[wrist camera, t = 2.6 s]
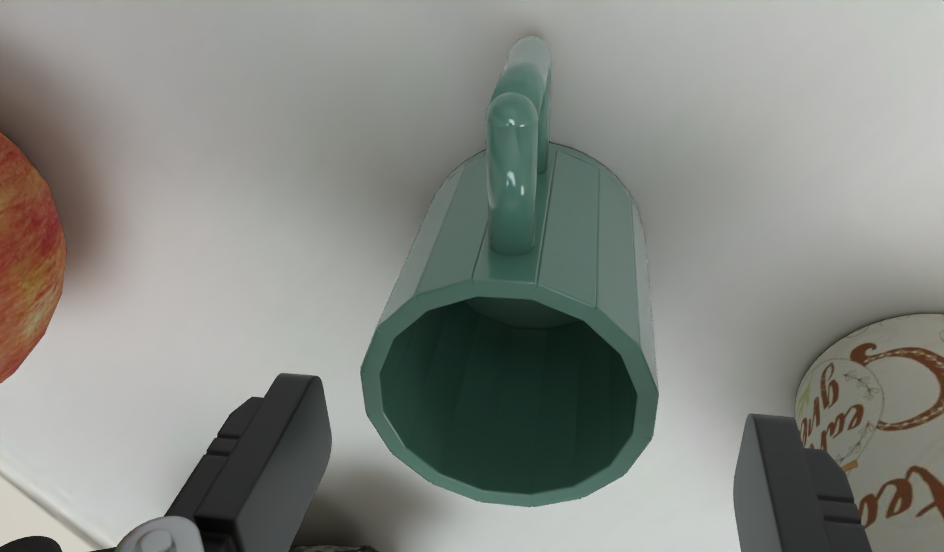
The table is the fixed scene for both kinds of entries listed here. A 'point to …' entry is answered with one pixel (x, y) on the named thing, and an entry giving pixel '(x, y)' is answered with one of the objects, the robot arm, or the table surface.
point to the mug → (884, 426)
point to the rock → (332, 549)
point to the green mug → (519, 318)
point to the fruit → (26, 257)
